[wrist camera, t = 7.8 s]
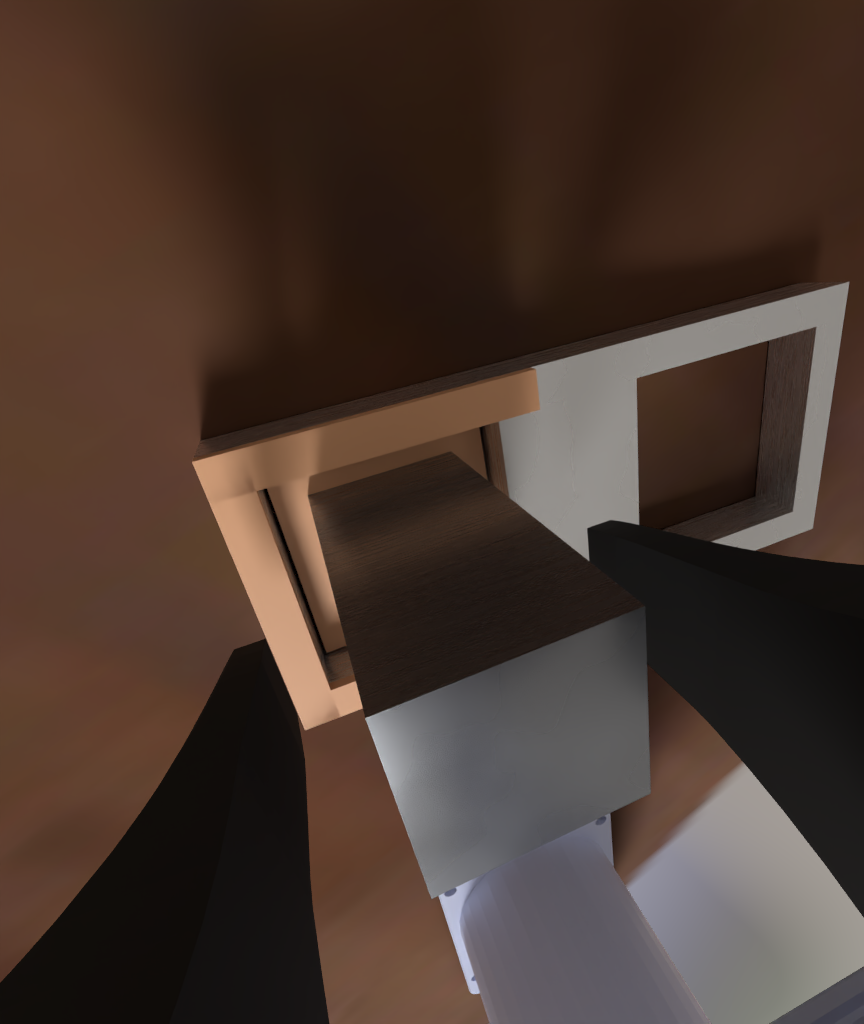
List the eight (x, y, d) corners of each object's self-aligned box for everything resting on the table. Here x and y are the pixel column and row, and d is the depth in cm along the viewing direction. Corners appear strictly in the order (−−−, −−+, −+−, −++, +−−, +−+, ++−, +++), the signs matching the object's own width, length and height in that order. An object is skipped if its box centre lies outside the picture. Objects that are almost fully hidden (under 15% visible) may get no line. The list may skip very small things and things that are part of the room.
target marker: (534, 600, 17) (562, 631, 16) (300, 686, 16) (305, 730, 14) (504, 360, 14) (536, 368, 12) (200, 440, 12) (192, 462, 11)
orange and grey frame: (774, 512, 19) (812, 528, 18) (300, 686, 16) (304, 722, 15) (800, 282, 16) (849, 281, 15) (200, 440, 12) (193, 458, 11)
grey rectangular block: (475, 572, 16) (651, 793, 9) (349, 617, 15) (431, 898, 8) (451, 451, 14) (645, 606, 7) (307, 495, 13) (365, 718, 6)
